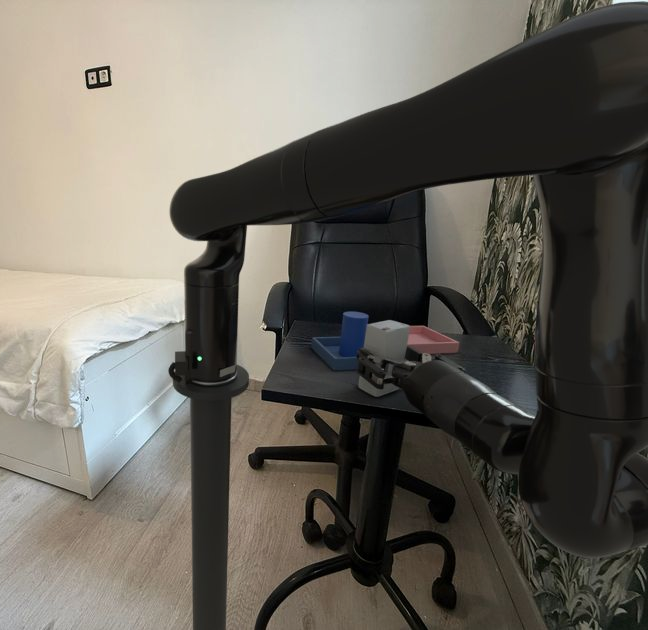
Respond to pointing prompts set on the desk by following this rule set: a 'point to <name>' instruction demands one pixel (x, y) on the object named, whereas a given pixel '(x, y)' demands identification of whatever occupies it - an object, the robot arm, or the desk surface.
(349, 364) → the blue tray
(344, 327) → the blue canister
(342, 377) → the desk surface
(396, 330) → the cosmetic box
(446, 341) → the rose tray
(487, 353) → the desk surface
